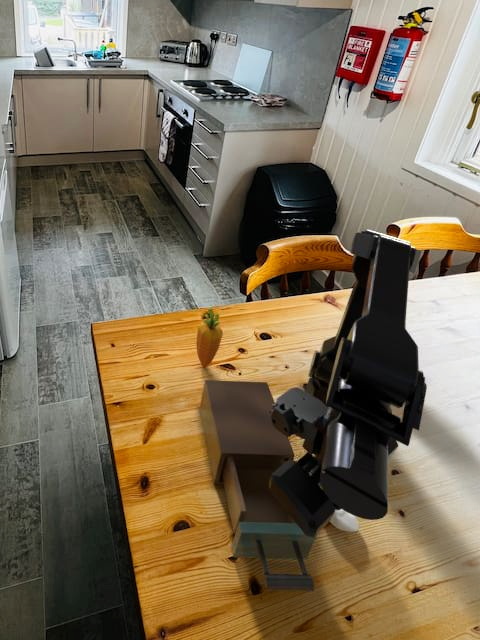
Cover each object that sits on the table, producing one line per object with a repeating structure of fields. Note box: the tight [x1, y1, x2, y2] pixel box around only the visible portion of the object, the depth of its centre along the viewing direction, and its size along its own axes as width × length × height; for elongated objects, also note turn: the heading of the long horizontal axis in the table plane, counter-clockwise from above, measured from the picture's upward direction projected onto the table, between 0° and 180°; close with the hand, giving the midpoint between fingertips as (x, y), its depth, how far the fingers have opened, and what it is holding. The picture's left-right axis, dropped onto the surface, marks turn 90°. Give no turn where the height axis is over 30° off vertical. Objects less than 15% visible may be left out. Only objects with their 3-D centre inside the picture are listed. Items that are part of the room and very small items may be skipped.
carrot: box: [195, 306, 224, 368], centre depth 82 cm, size 5×5×15 cm
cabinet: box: [198, 379, 296, 486], centre depth 68 cm, size 13×12×8 cm
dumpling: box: [329, 509, 360, 535], centre depth 60 cm, size 7×5×4 cm
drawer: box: [221, 456, 319, 592], centre depth 57 cm, size 16×10×6 cm, turn 0°
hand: (319, 501), depth 53 cm, fingers closed
